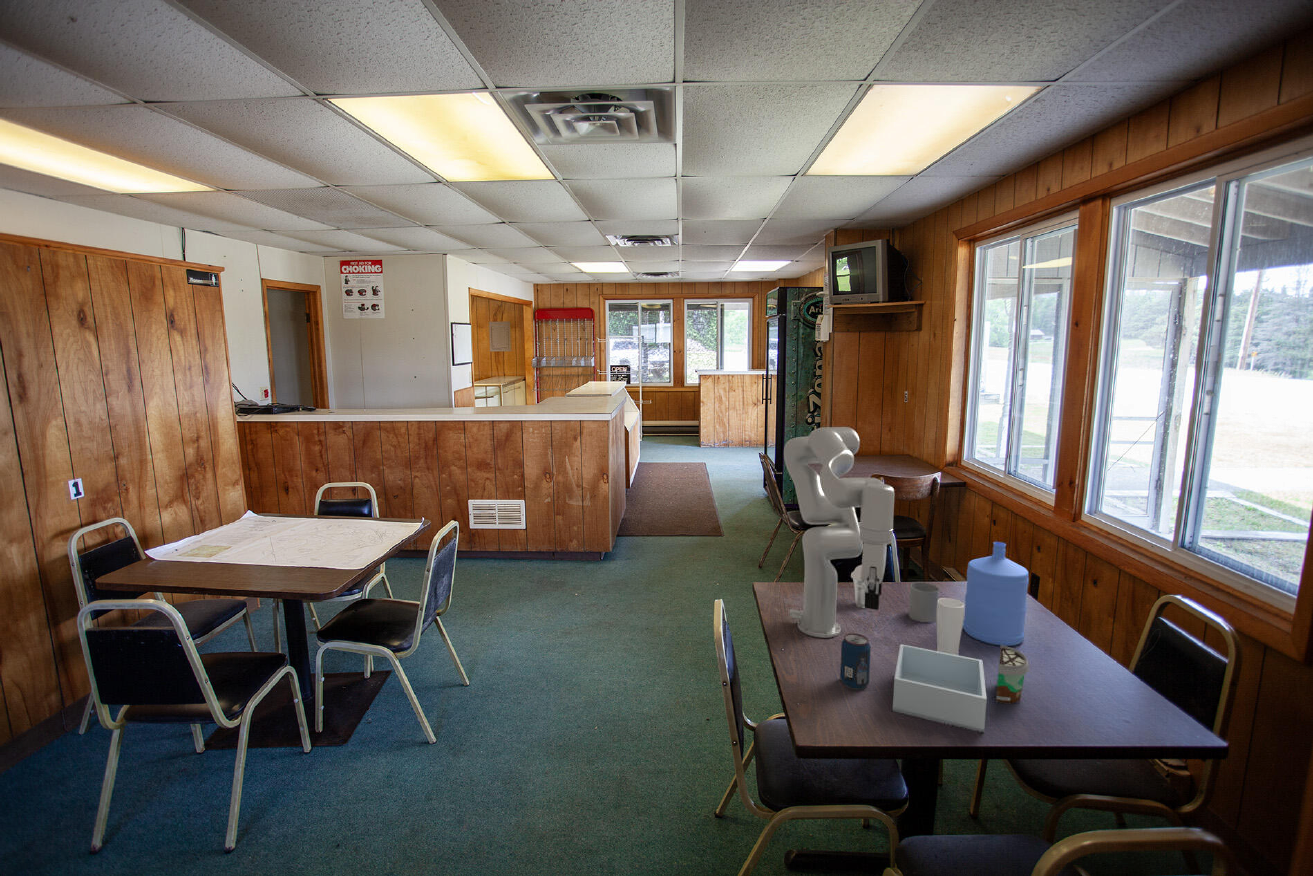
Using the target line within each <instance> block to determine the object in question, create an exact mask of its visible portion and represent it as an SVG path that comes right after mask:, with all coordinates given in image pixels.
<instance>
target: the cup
mask: <svg viewBox="0 0 1313 876" xmlns="http://www.w3.org/2000/svg"><path fill="white" fill-rule="evenodd" d="M909 585H910V587H909V604H908V605H909V606H908V617H909V616H910V617H911V618H910V617H909V618H910V619H912V618H913V619H915V620H914V621H916V620H918V621H921V622H920V623H923V622H934V623H937V620H936V612H937V602H938V599H940V587H939V586H937V585H935V584H933V583H929V582H923V581H921V582H920V581H916V582H911V584H909ZM913 619H912V620H913ZM918 621H917V622H918Z"/></svg>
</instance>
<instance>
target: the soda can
mask: <svg viewBox="0 0 1313 876" xmlns="http://www.w3.org/2000/svg"><path fill="white" fill-rule="evenodd" d="M871 650H872V649H871V644H870V642H869V638H868V637H866V636H864V635H863V634H859V633H846V634H845V635H844V637H843V639H842V641H841V648H840V669H839V670H840V673H839V678H840V681H841V682H842V684H843V685H844V686H845V687H847V688H849V689H851V690H857V691H860V690H863V689H865V688H866V687H867V686H868V685H869V683H870V671H871V669H870V668H871V667H870V666H871Z"/></svg>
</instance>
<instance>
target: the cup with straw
mask: <svg viewBox="0 0 1313 876" xmlns="http://www.w3.org/2000/svg"><path fill="white" fill-rule="evenodd" d="M861 572H862V564H860V565H857V566H856V567H855V569H854V570H853V571H852V572H851V574H850V577H851V579H852V580H853V581H852V582H853V584H854V585H853V586H854V597H855V599H854V600H855V606H856V607H858V608H860V607H861V609H866V608H865V607H864V605H865V591H866V584H867V580H866V581H864V582H862V581H861Z"/></svg>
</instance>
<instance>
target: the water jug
mask: <svg viewBox="0 0 1313 876" xmlns="http://www.w3.org/2000/svg"><path fill="white" fill-rule="evenodd" d="M1006 546H1007V544H1006V543H1005V542H1001V541H994V542H993V547H992V554H991V555H989V556H985V557H979V558H975V559H972V560H970V561H969V562H968V564H967V568H966V570H967V571H966V591H965V596H964V621H963V627H962V629H963V630H964V631H965V633H966V634H967V635H969V636H970V637H971V638H972V639H975V640H978V641H980V642H982V643H986V644H990V645H995V646H999V647H1001V645H1004V646H1007V647H1009V646H1010V647H1011V646H1017V645H1019V644H1021V643H1022V642H1023V641H1024V638H1025V631H1024V630H1025V623H1026V622H1025V621H1026V620H1025V619H1026V614H1027V597H1028V587H1029V571H1028V570H1027V568H1026V567H1024V566H1022V565H1020V564H1018V563H1016V562H1014V561H1012V560H1010V559H1009V558H1006Z"/></svg>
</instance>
